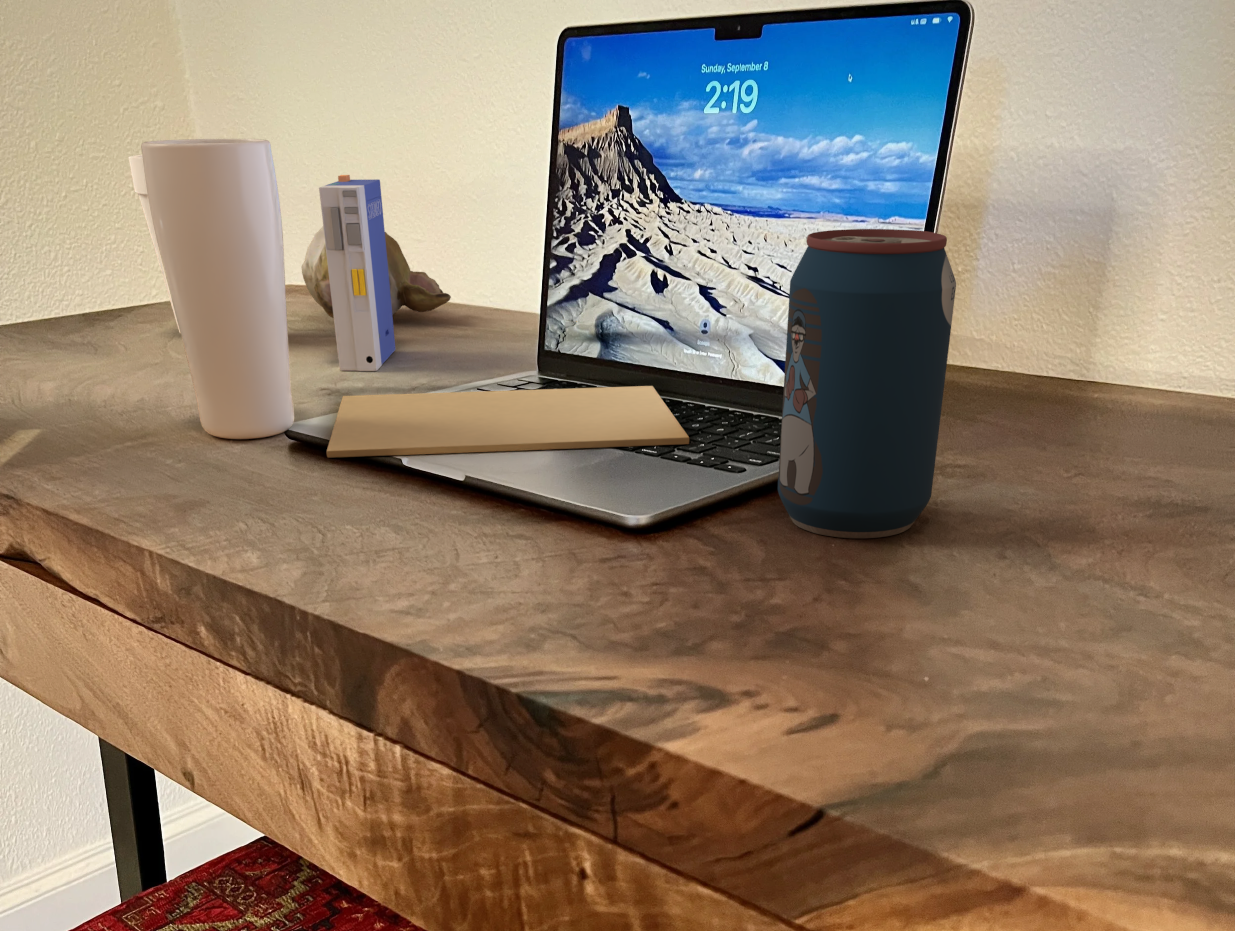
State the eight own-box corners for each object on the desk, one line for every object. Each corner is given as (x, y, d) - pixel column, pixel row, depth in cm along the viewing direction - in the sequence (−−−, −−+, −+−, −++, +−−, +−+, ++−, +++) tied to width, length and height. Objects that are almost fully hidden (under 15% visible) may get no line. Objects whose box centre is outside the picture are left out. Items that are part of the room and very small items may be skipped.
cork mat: (327, 457, 69) (326, 450, 69) (343, 402, 81) (342, 395, 80) (689, 444, 71) (689, 437, 71) (652, 391, 83) (652, 385, 83)
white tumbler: (166, 440, 72) (111, 143, 65) (230, 414, 78) (186, 137, 70) (270, 448, 71) (227, 144, 63) (328, 421, 76) (295, 138, 69)
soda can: (950, 513, 59) (987, 232, 53) (890, 553, 54) (922, 248, 48) (817, 490, 63) (837, 224, 57) (749, 526, 58) (762, 238, 52)
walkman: (359, 350, 96) (340, 173, 90) (396, 350, 96) (379, 173, 90) (337, 371, 89) (315, 181, 83) (376, 371, 89) (357, 181, 83)
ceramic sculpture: (382, 195, 112) (453, 220, 101) (390, 299, 117) (459, 333, 106) (265, 203, 107) (327, 229, 97) (278, 310, 112) (339, 346, 102)
